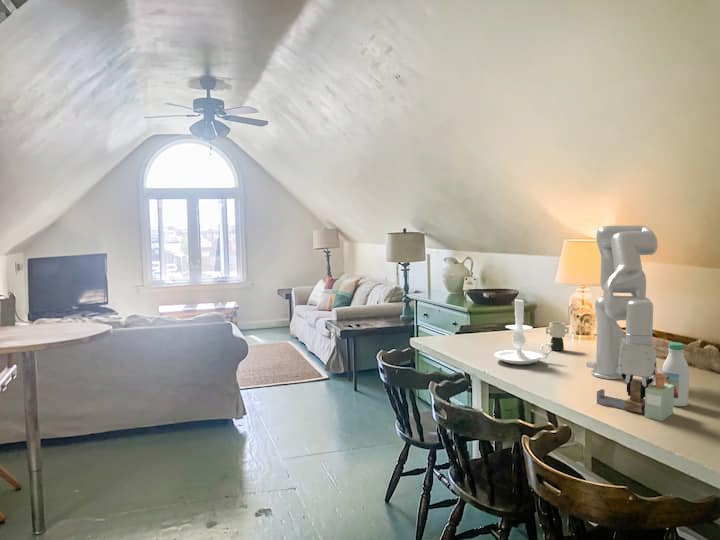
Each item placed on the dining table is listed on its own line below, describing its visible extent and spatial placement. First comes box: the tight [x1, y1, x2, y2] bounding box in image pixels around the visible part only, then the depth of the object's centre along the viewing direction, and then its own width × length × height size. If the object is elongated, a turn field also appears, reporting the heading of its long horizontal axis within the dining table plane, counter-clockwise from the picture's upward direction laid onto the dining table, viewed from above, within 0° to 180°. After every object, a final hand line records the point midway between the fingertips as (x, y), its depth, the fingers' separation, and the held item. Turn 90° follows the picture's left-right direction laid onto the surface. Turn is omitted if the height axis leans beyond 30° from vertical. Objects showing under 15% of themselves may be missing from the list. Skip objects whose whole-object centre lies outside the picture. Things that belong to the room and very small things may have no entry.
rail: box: [596, 389, 645, 415], centre depth 178 cm, size 16×4×4 cm, turn 44°
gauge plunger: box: [655, 372, 666, 389], centre depth 170 cm, size 3×3×7 cm
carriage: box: [624, 379, 645, 414], centre depth 175 cm, size 5×6×9 cm
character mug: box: [545, 321, 570, 351], centre depth 262 cm, size 11×7×13 cm, turn 90°
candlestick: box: [493, 298, 553, 365], centre depth 238 cm, size 21×25×28 cm
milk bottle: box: [661, 342, 690, 407], centre depth 181 cm, size 8×8×20 cm
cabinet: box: [644, 382, 674, 422], centre depth 170 cm, size 5×10×9 cm, turn 134°
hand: (636, 395), depth 175 cm, fingers closed on carriage, 3 cm apart
